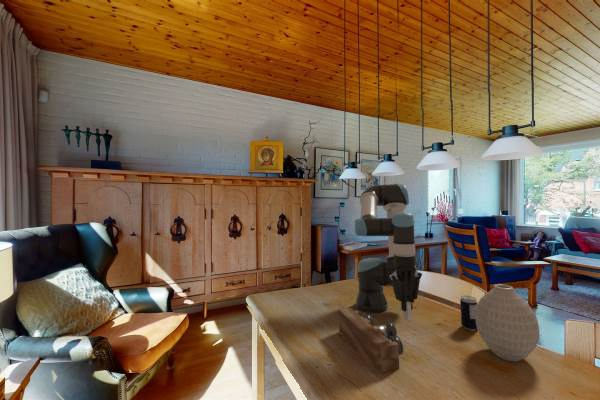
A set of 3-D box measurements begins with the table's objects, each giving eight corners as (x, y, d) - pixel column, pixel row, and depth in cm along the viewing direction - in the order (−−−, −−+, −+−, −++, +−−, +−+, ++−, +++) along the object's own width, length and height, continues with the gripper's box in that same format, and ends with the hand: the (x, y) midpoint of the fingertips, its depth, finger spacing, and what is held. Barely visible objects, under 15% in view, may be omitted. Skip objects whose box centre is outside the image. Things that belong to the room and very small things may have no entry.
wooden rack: (357, 328, 104) (356, 306, 105) (399, 368, 78) (398, 339, 79) (339, 332, 102) (338, 309, 103) (375, 374, 76) (374, 343, 77)
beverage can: (476, 325, 104) (474, 295, 104) (480, 332, 98) (479, 300, 99) (459, 324, 106) (458, 294, 106) (463, 330, 100) (462, 299, 101)
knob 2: (387, 334, 96) (387, 319, 96) (397, 341, 90) (396, 325, 91) (366, 338, 94) (366, 322, 94) (374, 346, 88) (374, 329, 88)
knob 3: (393, 349, 86) (392, 332, 86) (403, 358, 81) (402, 340, 81) (369, 353, 84) (368, 336, 84) (378, 363, 79) (378, 345, 79)
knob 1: (366, 325, 104) (365, 311, 104) (373, 331, 98) (372, 317, 98) (346, 328, 101) (345, 314, 101) (352, 335, 96) (351, 320, 96)
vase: (526, 378, 72) (521, 298, 73) (466, 350, 87) (463, 284, 87) (551, 360, 80) (546, 288, 80) (492, 337, 94) (489, 276, 95)
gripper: (412, 252, 101) (415, 313, 100) (383, 254, 98) (385, 317, 97) (426, 255, 94) (429, 321, 93) (395, 257, 90) (398, 326, 89)
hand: (407, 319), depth 95 cm, fingers closed
